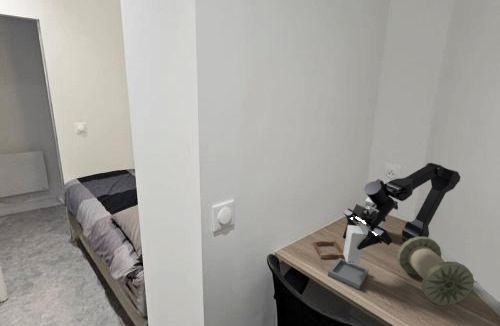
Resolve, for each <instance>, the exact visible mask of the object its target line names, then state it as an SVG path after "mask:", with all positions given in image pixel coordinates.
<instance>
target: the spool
mask: <svg viewBox="0 0 500 326" xmlns="http://www.w3.org/2000/svg"><path fill="white" fill-rule="evenodd" d="M441 257H442V250H441V247H440V245H439V244H438V243H437V242H436V241H435V240H434V239H432V238H430V237H429V236H428V237H420V236H418V237H415V238H411V239H409V240H408V241H406V242H405V241H404V242H403V244H401V246H400V248H399V249H398V252H397V256H396V259H397V263H398V265H399V266H400V267H401V268H402V269H403V271H404V273H405V272H406V273H408V274H410V275H416V276H417V275H419V276H420V277H421V278H422V282H421V289H422V292H423V294H424V295H425V297H427V298H428V300H429V301H430V302H432V303H434V304H435V305H437V306H451V305H454V304H457V303H458V304H459V302H461V301H463V300H464V299H466V298H467V297H468V296H469V294H470V293H471V291H472V290H473V287H474V283H475V280H474V274H473V272H471V271H470V269H469V268H468V267H467V266H466V265H464V264H463V263H460V262H458V261H445V260H444V259H442V258H441Z"/></svg>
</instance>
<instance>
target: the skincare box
mask: <svg viewBox="0 0 500 326" xmlns="http://www.w3.org/2000/svg"><path fill="white" fill-rule="evenodd" d="M360 227H361V226H359V225H357V226H353V225H348V227H347V233H346V238H345V239H344V240H345V242H344V247H343V251H344V252H343V255H344V257H345V258H344V260H346V262H347V263H348V264H357V265H360V262H361V261H360V260H361V255H362V249H360V250H358V249H357V247H358V246H359V244H360V243H361V242H362V241H363V240H364V239H365V235H364V233H363V231H362V230H361V228H360Z"/></svg>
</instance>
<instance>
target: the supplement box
mask: <svg viewBox="0 0 500 326" xmlns="http://www.w3.org/2000/svg"><path fill="white" fill-rule="evenodd" d="M373 204H374V203H373V202H372V201H371V200H370V198H369V197H368V196H367V198H366V199H365V200H364V203H363V207H365V208H366V207H367V206H372V205H373ZM387 216H388V215H387ZM387 216H386V217H385V219H386V221H385V222H383V221H382V222H381V223H380V224H379V225H378V226H379V227H381V228H383V229H384V230H385V226H386V222H387ZM363 224H364V223H363ZM359 227H360V228H361V230H362V231H363V233H364V236H367V234H368V229H367V228H365V227H364V226H362V225H361V224H360V226H359ZM368 227H369V226H368ZM369 231H370V230H369ZM371 232H372V231H371Z"/></svg>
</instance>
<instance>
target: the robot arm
mask: <svg viewBox="0 0 500 326" xmlns="http://www.w3.org/2000/svg"><path fill="white" fill-rule="evenodd" d="M428 181H430V184H431V188H430V190H429V192H428V194H427V195H426V197H425V199H424V202H423V203H422V204H421V207H420V209H419V211H418V213H417V214H416V217H415V218H414V220H412V221H407V222H406V223H405V225H404V227H403V228H402V231H401V236H402V237H401V238H402V241H403V242H404V243H405V242H406V241H408V240H409V239H411V238H415V237H418V236H420V237H428V238H429V236H430V229H429V225H430V224H431V222H432V220H433V218H434V216H435V214H436V212H437V210H438V208H439V206H440V205H441V203H442V201H443V199H444V198H445V195H446V194H447V193H448V192H451V191H452V190H454V189H455V187H456V186H457V185H458V183H459V182H460V181H461V175H460V173H459V171H456V170H452V169H449V168H446V167H444V166H442V164H437V163H433V162H427V163H426V165H425V166H423V167H421V168H420V169H418V170H416V171H414V172H413V173H411V174H409V175H408V176H405V177H402V178H395V179H392V180H389V181H388V182H385V183H384V181H383V180H381V179H379V178H377V179H376V180H375V181H370V182H368V183H366V184H365V185H364V188H363V191H364V193H365V194H366V195H367V198H368V197H369V198H370V200H371V201H372V202H373V203H374V204H373V205H372V206H367V207H366V208H365V207H364V206H363V205H360V204H357V203H356V204H355V206H354V208H353V210H352V209H351V208H346V209H344V211H343V215H344V216H345V218H346V227H345V229H344V232H343V235H342V238H343V239H344V240H346V233H347V227H348V225H353V226H358V225H360V226H361V225H362V226H364V227H365V228H367V229H368V234H367V235H365V236H364V239H363V241H362V242H361V243H360V244H359V246H358V247H357V249H358V250H360V249H365V248H368V247H370V246H373V245H377V244H381V245H382V244H385V245H387V246H390V245H391V243H392V242H393V237H392V236H391V234H390V233H389V232H388V231H387V229H385V228H384V229H383V228H381V227H379V226H378V225H379V224H380V223H381V222H382V221H383V222H385V221H386V222H387V217H386V216H388V215H389V214H390V213H391V212H392V211H393V209H394V210H397V211H398V210H399V205H398V204H399V202H398V201H400V202H403V201H406V200H407V199H409V198H410V197H411V196H412V195H413V193H414V192H413V191H414V190H416V189H417V188H419V187H420V186H422V185H424V184H425V183H427V182H428ZM396 200H398V201H396ZM385 217H386V219H385ZM386 222H385V223H386ZM363 223H364V224H363ZM368 226H369V227H368ZM369 230H370V231H369ZM371 231H372V232H371Z"/></svg>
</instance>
